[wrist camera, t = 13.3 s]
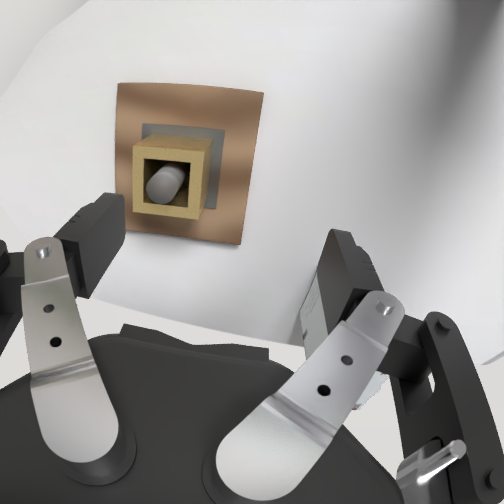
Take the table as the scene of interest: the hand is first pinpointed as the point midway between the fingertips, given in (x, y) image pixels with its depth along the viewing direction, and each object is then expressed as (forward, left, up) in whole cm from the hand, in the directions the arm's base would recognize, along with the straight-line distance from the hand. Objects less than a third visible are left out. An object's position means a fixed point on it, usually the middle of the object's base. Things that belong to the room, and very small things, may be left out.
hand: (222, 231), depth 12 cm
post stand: (+4, -6, -20) cm, 21 cm away
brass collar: (+4, -6, -19) cm, 20 cm away
